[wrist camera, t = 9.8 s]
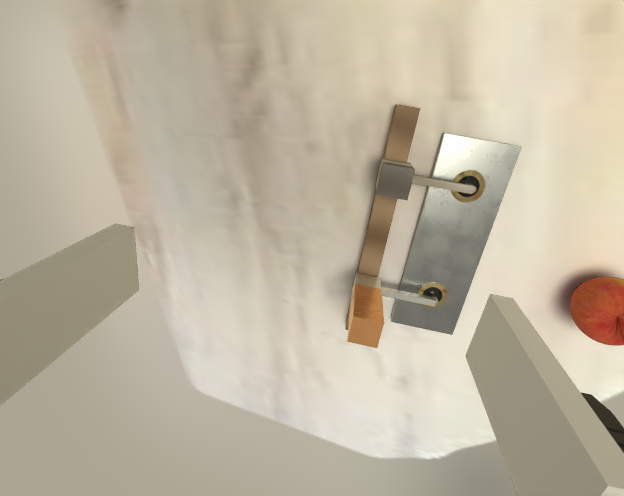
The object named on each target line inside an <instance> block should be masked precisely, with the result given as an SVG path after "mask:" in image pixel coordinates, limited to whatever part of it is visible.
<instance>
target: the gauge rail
mask: <svg viewBox="0 0 624 496" xmlns="http://www.w3.org/2000/svg"><path fill="white" fill-rule="evenodd" d="M419 111H420V108H415V107H409V106H403V105H395V109H394V114H393V118H392V122H391V127H390V131H389V136H388V140H387V144H386V149H385V153H384V158H382V160H381V164H380V168H379V173H378V177H377V182H376V193H375V197H374V201H373V206H372V210H371V215H370V219H369V223H368V228H367V232H366V237H365V241H364V245H363V250H362V254H361V259H360V263H359V267H358V272H357V273H359V274H364V275H369V276H374V277H378V273H379V269H380V265H381V261H382V258H383V254H384V250H385V246H386V242H387V238H388V234H389V230H390V226H391V222H392V218H393V214H394V210H395V206H396V202H397V198H398V199H403V200H407V199H408V195H409V192H410V188H411V184H412V183H414V184H419V185H425V186H430V187H436V188H441V189H447V190H452V191H458V192H463V193H469V194H472V193H475V192H476V187H475V186H473V185H472V184H463V183H457V182H452V181H446V180H440V179H435V178H429V177H424V176H418V175H414V173H415V169H414V168H413V167H412V165H411V164H410V163H408V162H407V159H408V155H409V151H410V147H411V143H412V139H413V135H414V131H415V127H416V123H417V119H418V115H419ZM350 304H351V303H350ZM349 315H350V307H349V311H348V316H347V320H346V330H348V327H349Z"/></svg>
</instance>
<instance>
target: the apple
mask: <svg viewBox="0 0 624 496" xmlns="http://www.w3.org/2000/svg"><path fill="white" fill-rule="evenodd" d="M570 310H571V315H572V318H573V320H574V322H575V324H576V325H577V326H578V328H579V329H580V330H581V331H582V332H583V333H584V334H585V335H587V336H588V337H590V338H591V339H593V340H595V341H597V342H600V343H603V344H607V345H624V279H620V278H614V277H600V278H594V279H591V280H588V281H586V282H584V283H582V284H581V285H580V286H578V287H577V288H576V290H575V291H574V292H573V294H572V297H571V301H570Z"/></svg>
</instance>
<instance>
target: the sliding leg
mask: <svg viewBox="0 0 624 496" xmlns="http://www.w3.org/2000/svg"><path fill="white" fill-rule="evenodd" d="M382 296H386V297H391V298H395V299H400V300H405V301H410V302H415V303H420V304H424V305H429V306H434V307H435V305H437V304H438V299H437V297H436V295H435V294H431V295H430V296H425V295H420V294H415V293H410V292H405V291H400V290H395V289H391V288H386V287H381V280H380V278H379V277H374V276H369V275H364V274H359V273H356V275H355V280H354V284H353V289H352V293H351V304H350V315H349V327H348V339H347V342H352V343H356V344H361V345H366V346H370V347H375V348H377V346H378V343H379V339H380V336H381V332H382V328H383V325H384V317H383V305H382Z"/></svg>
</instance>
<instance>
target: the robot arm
mask: <svg viewBox="0 0 624 496" xmlns="http://www.w3.org/2000/svg"><path fill="white" fill-rule="evenodd" d="M138 290H139V282H138V268H137V256H136V243H135V230H134V227H131V226H125V225H120V224H113V225H111V226H110V227H107V228H106V229H103V230H101V231H99V232H97V233H96V234H94V235H91V236H90V237H87V238H85V239H83V240H81V241H79V242H77V243H75V244H73V245H72V246H69V247H67V248H65V249H63V250H61V251H59V252H57V253H55V254H53V255H51V256H49V257H47V258H45V259H43V260H41V261H39V262H37V263H35V264H33V265H31V266H29V267H27V268H25V269H23V270H21V271H19V272H17V273H15V274H13V275H11V276H9V277H7V278H5V279H2V280H0V406H1V405H2V404H3V403H4V402H6V401H7V400H8V399H9V398H10V397H12V396H13V395H14V394H15V393H16V392H18V391H19V390H20V389H21V388H22V387H23V386H25V385H26V384H27V383H28V382H30V381H31V380H32V379H33V378H34V377H35V376H37V375H38V374H39V373H40V372H42V371H43V370H44V369H45V368H46V367H47V366H49V365H50V364H51V363H52V362H53V361H55V360H56V359H57V358H58V357H59V356H61V355H62V354H63V353H64V352H65V351H67V350H68V349H69V348H70V347H71V346H73V345H74V344H75V343H76V342H77V341H79V340H80V339H81V338H82V337H83V336H85V335H86V334H87V333H88V332H89V331H90V330H92V329H93V328H94V327H95V326H96V325H98V324H99V323H100V322H101V321H102V320H104V319H105V318H106V317H107V316H108V315H109V314H111V313H112V312H113V311H114V310H115V309H117V308H118V307H119V306H120V305H122V304H123V303H124V302H125V301H126V300H128V299H129V298H130V297H131V296H132V295H133V294H135V293H136V292H137V291H138ZM466 359H467V361H468V364H469V367H470V370H471V372H472V375H473V378H474V380H475V383H476V386H477V388H478V391H479V394H480V396H481V399H482V402H483V404H484V407H485V410H486V412H487V415H488V418H489V420H490V423H491V426H492V429H493V431H494V434H495V437H496V439H497V442H498V445H499V447H500V450H501V453H502V455H503V458H504V461H505V463H506V466H507V469H508V471H509V474H510V477H511V479H512V482H513V485H514V488H515V490H516V493H517V496H624V428H623V426H622V425H621V424H620V422H619V421H618V420H617V419H616V417H615V416H614V415H613V414H612V412H611V411H610V410H608V409H607V408H606V407H605V406H604V405H603V404H601V403H600V402H599V401H598V400H597V399H596V398H594V397H593V396H592V395H590V394H585V393H581V392H580V391H579V390H578V389H577V387H576V386H575V384H574V383H573V382H572V380H571V379H570V377H569V376H568V375H567V373H566V372H565V370H564V369H563V368H562V366H561V365H560V363H559V362H558V361H557V359H556V358H555V356H554V355H553V354H552V352H551V351H550V349H549V348H548V347H547V345H546V344H545V342H544V341H543V340H542V338H541V337H540V335H539V334H538V333H537V331H536V330H535V329H534V327H533V326H532V324H531V323H530V322H529V320H528V319H527V317H526V316H525V315H524V313H523V312H522V310H521V309H520V308H519V306H518V305H517V303H516V302H515V301H514V299H513V298H509V297H503V296H498V295H493V294H490V296H489V298H488V301H487V303H486V306H485V308H484V311H483V313H482V316H481V318H480V321H479V323H478V326H477V328H476V331H475V333H474V336H473V338H472V341H471V343H470V346H469V348H468V351H467V353H466Z"/></svg>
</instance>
